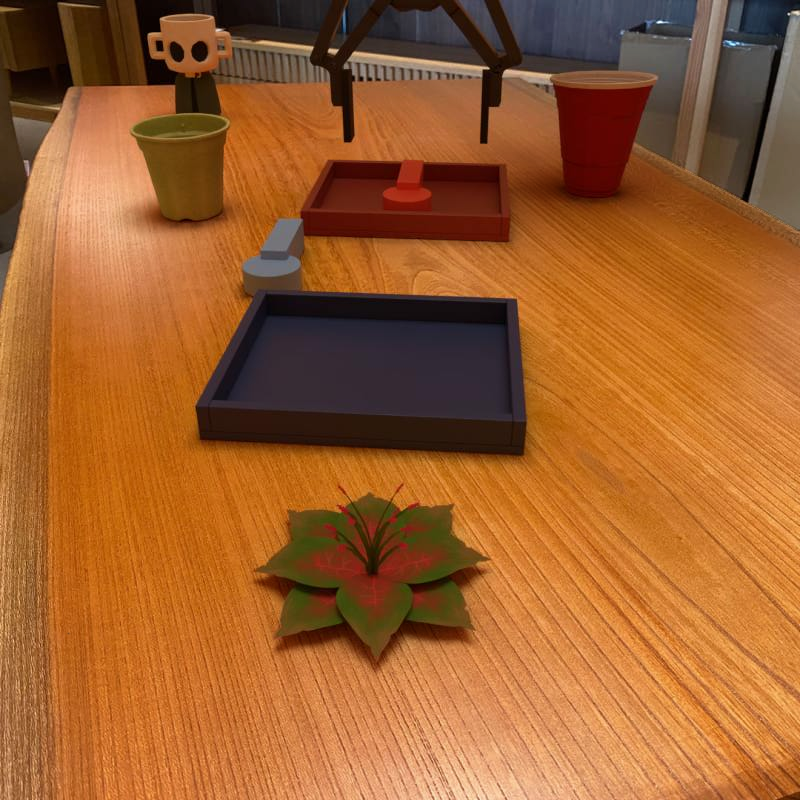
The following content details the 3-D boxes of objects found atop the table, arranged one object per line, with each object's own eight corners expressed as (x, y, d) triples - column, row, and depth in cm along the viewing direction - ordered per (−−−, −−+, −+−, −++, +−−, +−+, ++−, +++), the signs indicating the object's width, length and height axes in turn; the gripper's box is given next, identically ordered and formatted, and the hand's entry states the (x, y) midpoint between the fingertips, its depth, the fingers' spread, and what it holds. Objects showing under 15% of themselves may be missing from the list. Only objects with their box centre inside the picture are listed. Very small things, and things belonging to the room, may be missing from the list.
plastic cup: (608, 169, 97) (622, 59, 91) (660, 198, 89) (681, 79, 82) (523, 178, 94) (531, 66, 88) (568, 209, 86) (582, 87, 79)
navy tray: (514, 326, 64) (517, 298, 62) (523, 455, 50) (527, 421, 48) (260, 316, 65) (257, 288, 64) (199, 439, 51) (194, 406, 50)
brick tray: (504, 185, 92) (506, 163, 91) (508, 241, 78) (510, 216, 77) (328, 180, 94) (327, 159, 92) (301, 235, 80) (299, 210, 78)
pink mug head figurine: (155, 126, 113) (140, 22, 107) (163, 113, 119) (148, 14, 113) (237, 124, 114) (226, 21, 107) (240, 112, 120) (230, 13, 113)
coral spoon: (435, 186, 90) (435, 160, 89) (429, 222, 81) (430, 194, 79) (390, 185, 91) (390, 159, 89) (380, 220, 81) (380, 192, 80)
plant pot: (180, 236, 79) (167, 143, 75) (126, 213, 85) (110, 125, 80) (258, 211, 85) (249, 124, 81) (202, 190, 91) (191, 108, 86)
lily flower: (236, 679, 36) (224, 602, 33) (260, 501, 46) (253, 432, 44) (514, 667, 36) (522, 591, 34) (478, 494, 47) (482, 425, 44)
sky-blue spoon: (318, 248, 77) (317, 219, 75) (296, 300, 68) (294, 267, 66) (267, 246, 77) (264, 217, 76) (237, 298, 68) (234, 265, 66)
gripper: (265, -103, 71) (287, 148, 82) (562, -107, 69) (543, 151, 81) (283, -105, 78) (300, 129, 89) (556, -109, 76) (538, 131, 87)
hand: (416, 140), depth 85 cm, fingers open, 13 cm apart
